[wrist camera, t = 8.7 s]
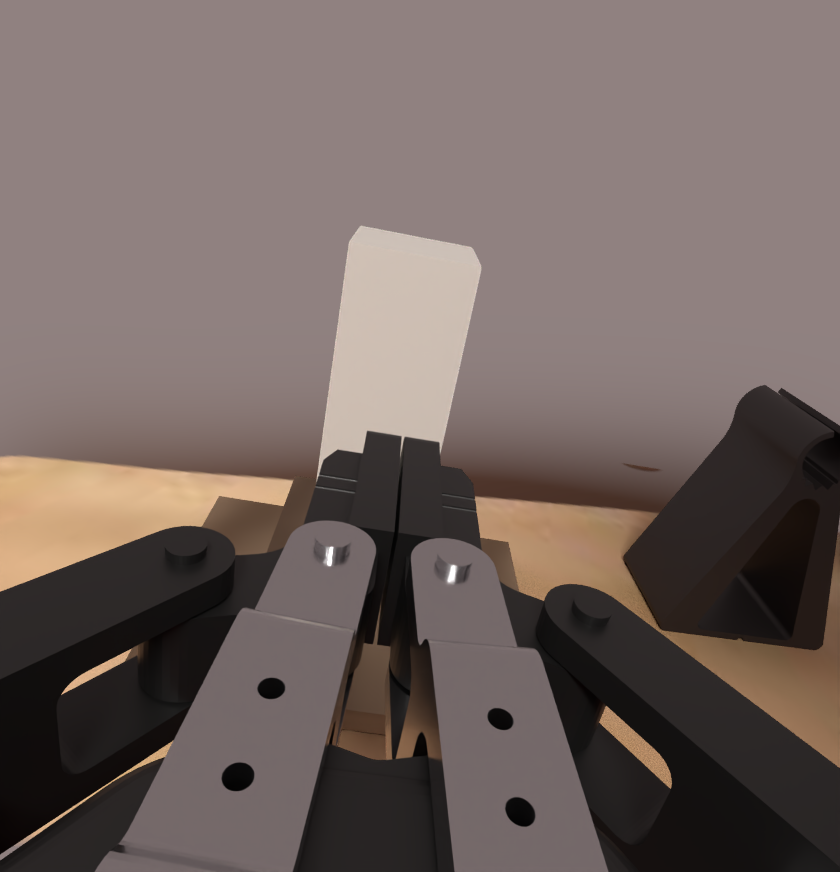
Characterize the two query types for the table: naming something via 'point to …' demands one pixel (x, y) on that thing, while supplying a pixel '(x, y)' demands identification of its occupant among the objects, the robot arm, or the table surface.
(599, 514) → the table surface
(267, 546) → the ridged brown base plate
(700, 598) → the phone stand
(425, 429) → the cream block
